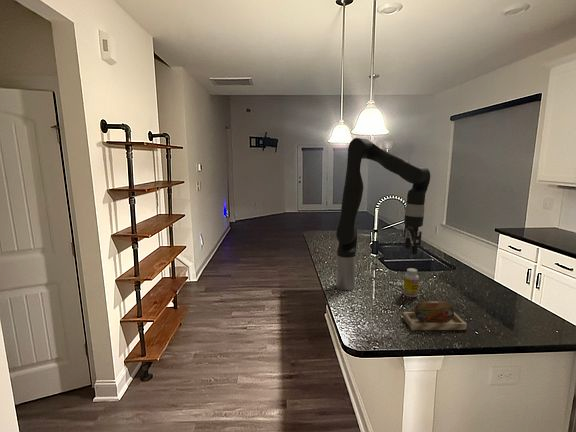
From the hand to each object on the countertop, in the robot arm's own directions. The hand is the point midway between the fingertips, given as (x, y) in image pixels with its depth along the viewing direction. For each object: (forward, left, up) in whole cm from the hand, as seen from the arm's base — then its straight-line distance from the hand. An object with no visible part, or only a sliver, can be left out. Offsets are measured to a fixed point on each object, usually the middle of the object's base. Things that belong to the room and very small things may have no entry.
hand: (410, 251), depth 140 cm
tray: (+6, -14, -26) cm, 30 cm away
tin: (+6, -14, -26) cm, 30 cm away
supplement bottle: (+7, +14, -26) cm, 31 cm away
